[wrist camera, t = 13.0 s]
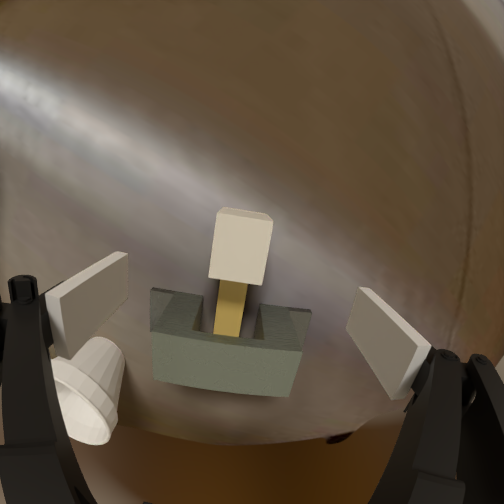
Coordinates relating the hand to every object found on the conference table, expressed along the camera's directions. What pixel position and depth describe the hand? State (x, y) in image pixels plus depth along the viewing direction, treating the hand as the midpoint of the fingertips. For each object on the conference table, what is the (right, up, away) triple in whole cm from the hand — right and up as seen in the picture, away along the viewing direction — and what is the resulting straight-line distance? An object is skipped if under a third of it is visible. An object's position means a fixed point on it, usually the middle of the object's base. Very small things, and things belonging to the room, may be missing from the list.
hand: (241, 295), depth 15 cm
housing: (-2, -6, +19) cm, 20 cm away
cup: (-22, -13, +21) cm, 33 cm away
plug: (-2, -3, +18) cm, 19 cm away
